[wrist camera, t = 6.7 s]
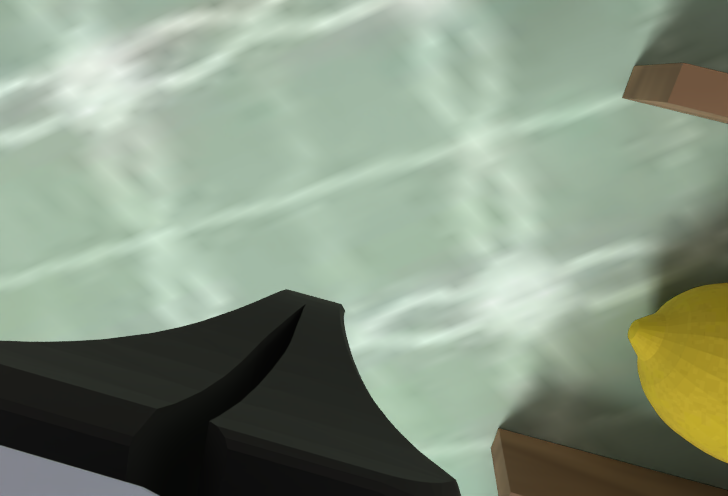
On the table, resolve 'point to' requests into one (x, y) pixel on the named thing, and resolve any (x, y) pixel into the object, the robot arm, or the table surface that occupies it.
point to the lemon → (688, 365)
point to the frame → (579, 468)
